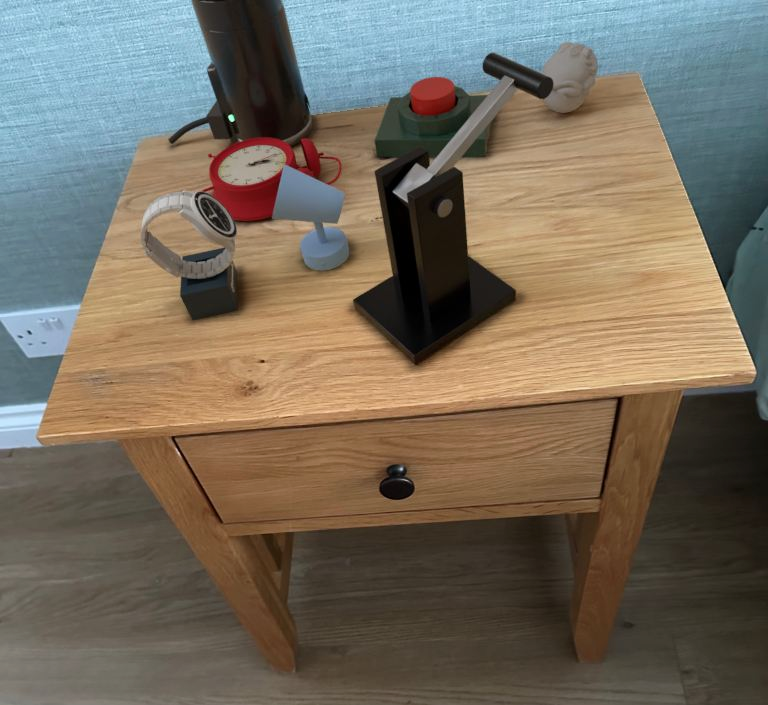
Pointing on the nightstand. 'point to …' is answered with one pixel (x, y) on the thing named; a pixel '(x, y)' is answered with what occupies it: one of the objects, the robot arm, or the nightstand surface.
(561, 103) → the grey rounded piece
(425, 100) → the button
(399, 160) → the bracket
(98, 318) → the nightstand surface
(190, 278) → the watch
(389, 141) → the button block
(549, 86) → the lever
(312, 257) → the spotlight
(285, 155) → the alarm clock
